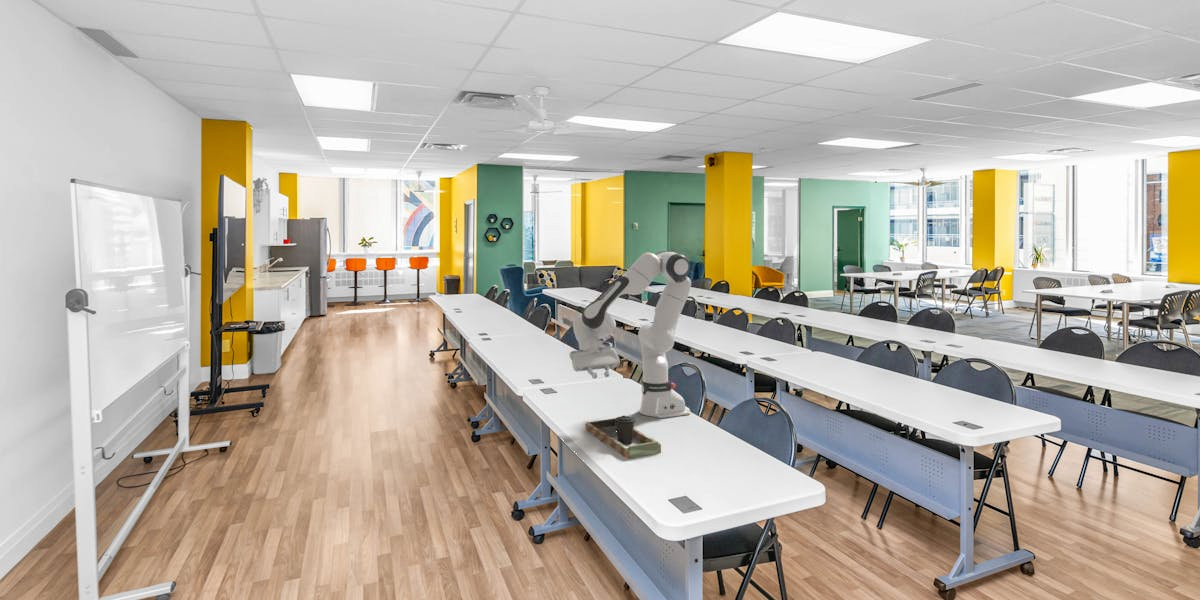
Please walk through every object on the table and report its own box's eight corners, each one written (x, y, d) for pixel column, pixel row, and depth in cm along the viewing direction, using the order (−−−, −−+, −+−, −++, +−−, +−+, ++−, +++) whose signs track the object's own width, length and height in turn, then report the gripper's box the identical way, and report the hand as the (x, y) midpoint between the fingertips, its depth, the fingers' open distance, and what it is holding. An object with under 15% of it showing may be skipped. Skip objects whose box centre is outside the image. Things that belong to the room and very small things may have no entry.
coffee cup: (624, 437, 247) (624, 413, 246) (639, 442, 241) (639, 417, 240) (609, 442, 241) (609, 417, 240) (625, 448, 236) (625, 421, 234)
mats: (592, 430, 256) (592, 430, 256) (614, 427, 260) (614, 426, 260) (604, 438, 246) (604, 438, 246) (627, 435, 250) (627, 434, 250)
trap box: (585, 429, 257) (585, 420, 257) (616, 425, 263) (616, 415, 263) (627, 458, 225) (627, 447, 224) (660, 452, 231) (661, 441, 230)
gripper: (570, 346, 258) (580, 375, 250) (614, 342, 267) (625, 370, 259) (566, 355, 263) (575, 383, 255) (610, 351, 271) (620, 378, 264)
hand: (601, 376), depth 257 cm, fingers open, 4 cm apart
